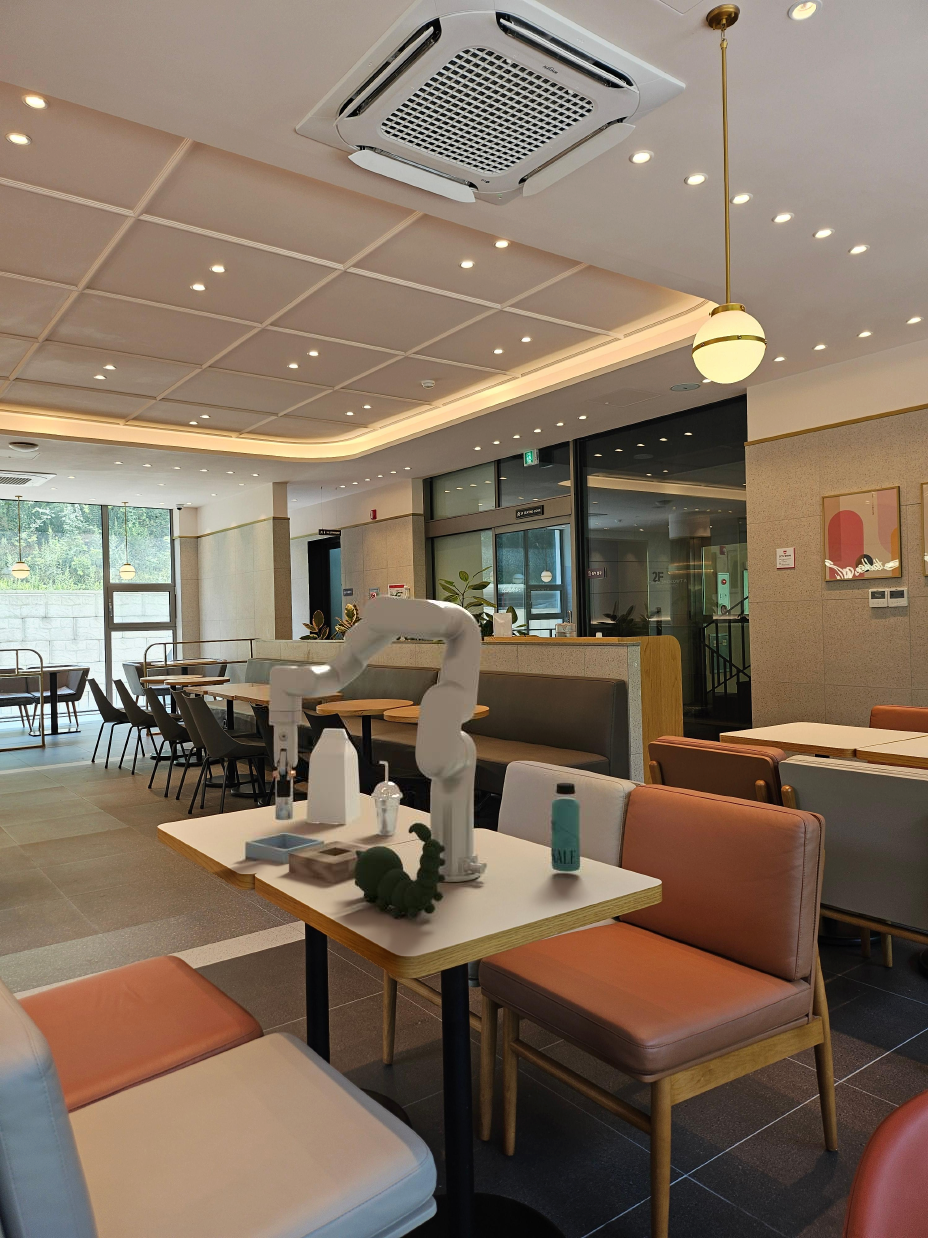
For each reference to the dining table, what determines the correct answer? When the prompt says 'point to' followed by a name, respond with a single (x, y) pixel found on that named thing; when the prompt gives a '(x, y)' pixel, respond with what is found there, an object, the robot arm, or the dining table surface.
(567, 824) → the beverage bottle
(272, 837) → the tray
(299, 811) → the dining table surface
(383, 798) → the cup with straw
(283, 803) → the copper capped shaker
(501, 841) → the dining table surface
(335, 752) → the milk
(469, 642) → the robot arm
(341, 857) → the square wooden block
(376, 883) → the toy figurine
